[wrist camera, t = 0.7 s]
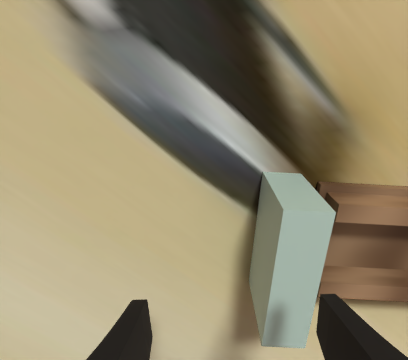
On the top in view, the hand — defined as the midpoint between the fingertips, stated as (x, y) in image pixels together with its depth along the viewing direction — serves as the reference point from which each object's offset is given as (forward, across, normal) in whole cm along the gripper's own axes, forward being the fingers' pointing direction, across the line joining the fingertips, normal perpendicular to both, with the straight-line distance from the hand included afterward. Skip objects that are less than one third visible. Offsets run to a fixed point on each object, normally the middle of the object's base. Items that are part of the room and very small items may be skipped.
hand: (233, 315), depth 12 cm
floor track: (+10, -13, +2) cm, 16 cm away
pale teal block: (+10, -4, +2) cm, 10 cm away
